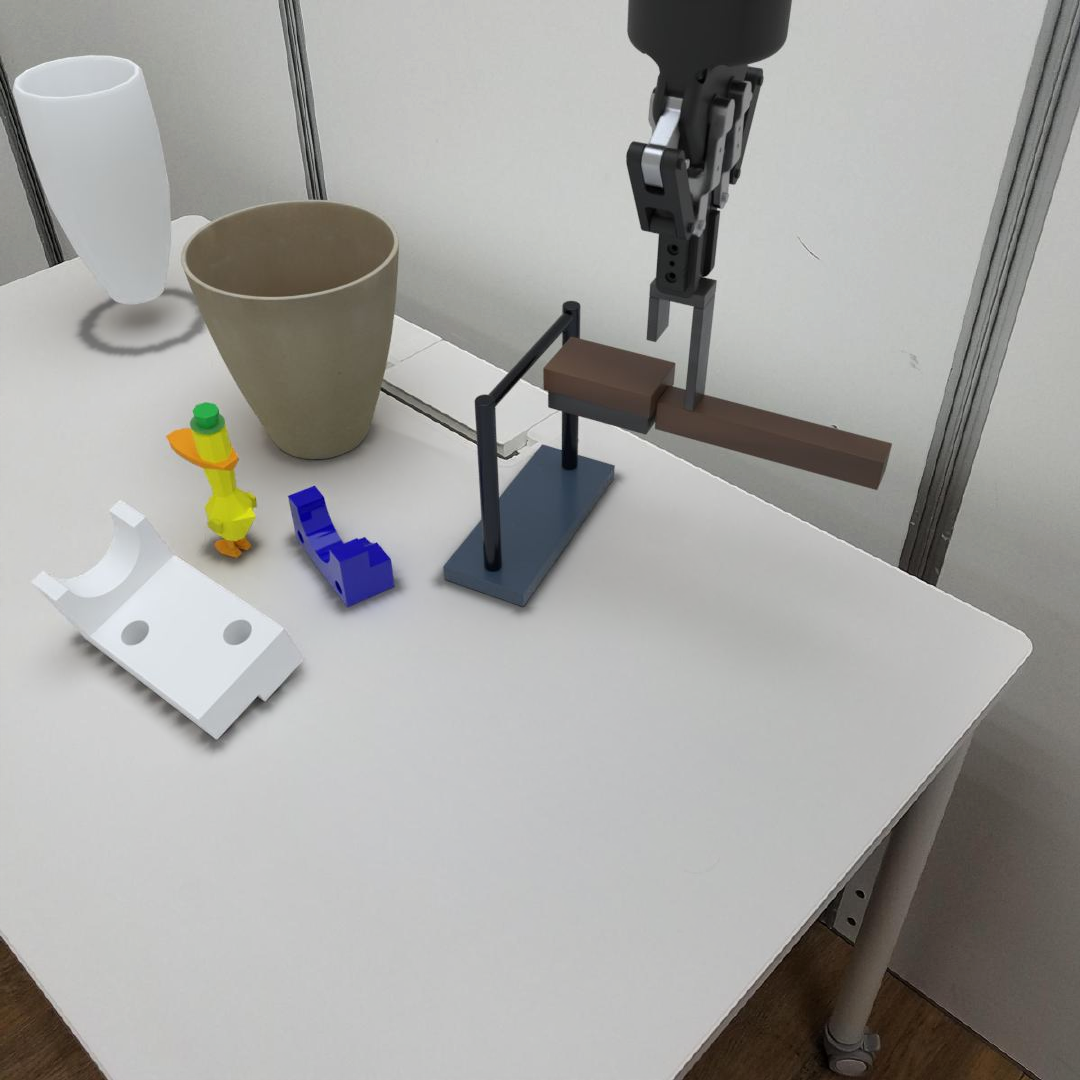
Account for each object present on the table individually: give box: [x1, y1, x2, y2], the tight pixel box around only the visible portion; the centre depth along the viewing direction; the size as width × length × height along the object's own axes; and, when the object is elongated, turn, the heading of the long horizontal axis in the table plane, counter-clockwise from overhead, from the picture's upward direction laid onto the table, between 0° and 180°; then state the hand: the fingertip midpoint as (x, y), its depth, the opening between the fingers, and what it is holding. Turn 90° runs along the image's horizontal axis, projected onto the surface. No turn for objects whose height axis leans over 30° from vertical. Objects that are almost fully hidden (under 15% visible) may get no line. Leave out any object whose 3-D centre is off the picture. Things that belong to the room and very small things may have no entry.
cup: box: [12, 54, 172, 305], centre depth 93 cm, size 10×10×22 cm
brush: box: [542, 192, 893, 491], centre depth 62 cm, size 4×20×15 cm, turn 64°
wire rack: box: [442, 300, 616, 607], centre depth 74 cm, size 6×15×15 cm, turn 154°
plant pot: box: [180, 199, 400, 460], centre depth 82 cm, size 15×15×16 cm
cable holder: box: [287, 485, 395, 608], centre depth 75 cm, size 8×4×4 cm, turn 33°
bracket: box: [30, 499, 306, 741], centre depth 67 cm, size 13×7×8 cm, turn 51°
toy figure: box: [165, 401, 258, 559], centre depth 74 cm, size 7×4×12 cm, turn 57°
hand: (684, 280), depth 61 cm, fingers closed on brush, 2 cm apart
